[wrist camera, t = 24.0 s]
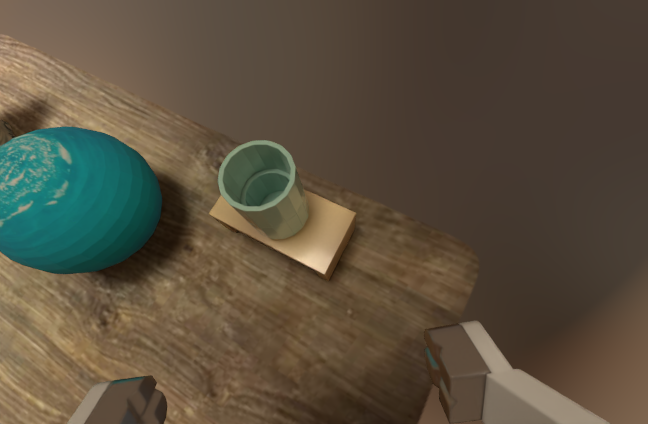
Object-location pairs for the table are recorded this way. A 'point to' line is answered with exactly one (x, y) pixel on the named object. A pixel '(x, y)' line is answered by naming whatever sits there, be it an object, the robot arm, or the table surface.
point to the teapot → (5, 132)
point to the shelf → (302, 233)
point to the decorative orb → (74, 200)
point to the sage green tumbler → (265, 188)
